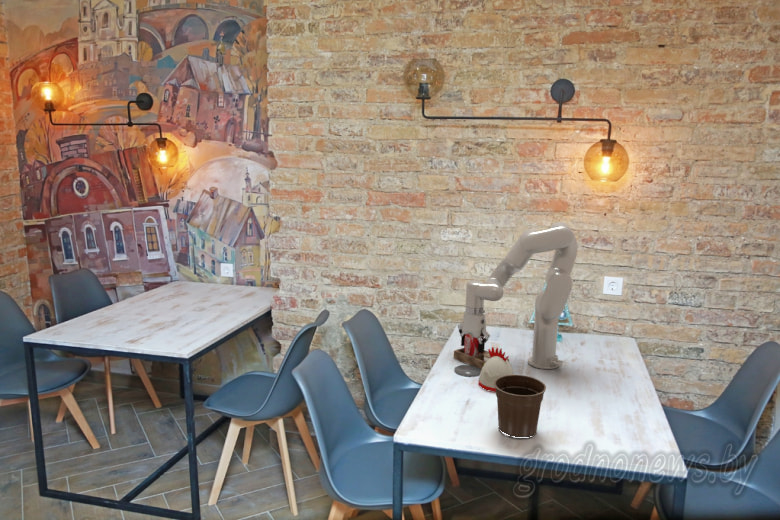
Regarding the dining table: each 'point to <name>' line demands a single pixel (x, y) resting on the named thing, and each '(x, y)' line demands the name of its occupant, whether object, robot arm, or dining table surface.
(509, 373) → the beige crested helmet
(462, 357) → the caddy
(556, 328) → the robot arm
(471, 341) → the soda can
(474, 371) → the coaster
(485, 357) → the sugar jar
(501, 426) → the plant pot
